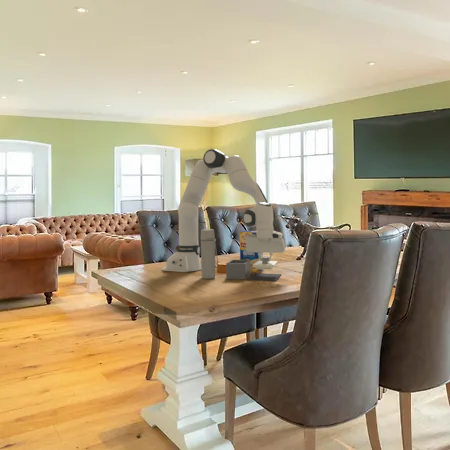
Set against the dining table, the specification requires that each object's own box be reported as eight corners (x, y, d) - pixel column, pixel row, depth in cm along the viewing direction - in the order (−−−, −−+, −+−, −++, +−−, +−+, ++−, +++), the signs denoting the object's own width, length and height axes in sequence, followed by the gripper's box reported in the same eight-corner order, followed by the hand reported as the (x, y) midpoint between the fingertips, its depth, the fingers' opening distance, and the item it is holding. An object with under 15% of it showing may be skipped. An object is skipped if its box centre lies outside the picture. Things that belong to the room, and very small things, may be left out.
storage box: (226, 278, 241) (226, 263, 240) (232, 274, 252) (232, 259, 252) (245, 279, 238) (245, 263, 237) (250, 274, 250) (250, 259, 249)
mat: (248, 280, 236) (248, 279, 236) (255, 274, 251) (255, 273, 251) (276, 281, 232) (276, 280, 232) (281, 275, 247) (281, 274, 247)
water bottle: (205, 279, 239) (204, 230, 237) (198, 277, 246) (197, 229, 244) (221, 278, 243) (220, 229, 241) (214, 275, 250) (213, 228, 248)
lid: (252, 269, 237) (252, 258, 236) (257, 265, 249) (257, 255, 248) (273, 270, 234) (273, 259, 233) (277, 265, 246) (277, 255, 246)
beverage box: (258, 272, 256) (258, 232, 254) (240, 271, 261) (239, 231, 259) (263, 270, 262) (262, 231, 261) (245, 269, 267) (244, 230, 265)
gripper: (243, 234, 240) (244, 261, 241) (283, 235, 234) (284, 262, 235) (246, 233, 246) (247, 259, 247) (285, 233, 240) (286, 260, 241)
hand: (265, 261), depth 241 cm, fingers closed on lid, 2 cm apart
